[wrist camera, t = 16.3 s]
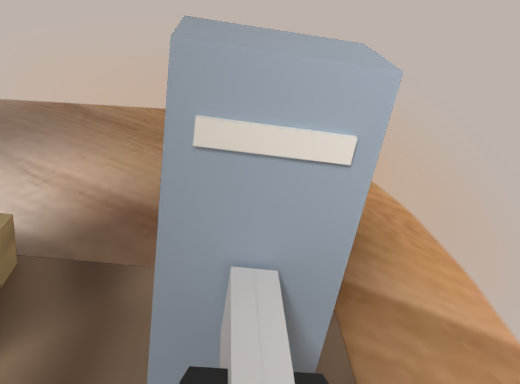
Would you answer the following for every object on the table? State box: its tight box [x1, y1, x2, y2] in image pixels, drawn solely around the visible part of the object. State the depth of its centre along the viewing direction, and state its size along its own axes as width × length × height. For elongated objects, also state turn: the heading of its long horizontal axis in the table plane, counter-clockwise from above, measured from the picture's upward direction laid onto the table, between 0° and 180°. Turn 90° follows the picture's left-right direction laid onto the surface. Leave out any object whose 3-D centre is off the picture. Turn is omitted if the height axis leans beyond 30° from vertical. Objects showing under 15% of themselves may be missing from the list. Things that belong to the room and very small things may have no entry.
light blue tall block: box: [147, 16, 403, 384], centre depth 17 cm, size 6×4×14 cm
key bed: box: [0, 213, 356, 384], centre depth 18 cm, size 26×17×4 cm, turn 93°
